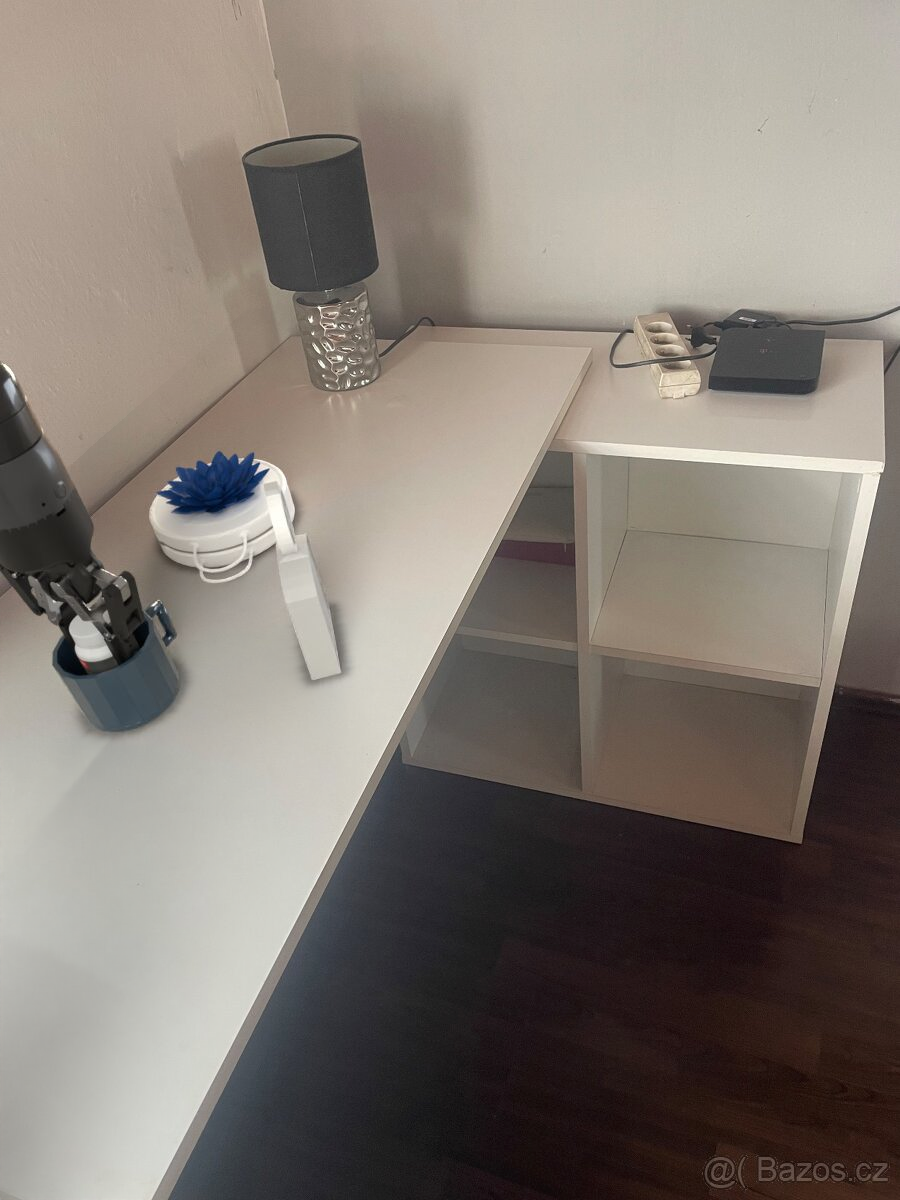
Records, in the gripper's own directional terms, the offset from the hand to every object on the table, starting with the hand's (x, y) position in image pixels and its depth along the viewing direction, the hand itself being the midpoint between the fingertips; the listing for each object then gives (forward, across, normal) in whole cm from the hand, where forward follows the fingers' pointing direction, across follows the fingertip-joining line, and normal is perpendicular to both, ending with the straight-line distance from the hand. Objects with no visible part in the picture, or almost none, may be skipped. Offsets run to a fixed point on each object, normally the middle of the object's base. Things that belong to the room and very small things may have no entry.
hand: (109, 654), depth 77 cm
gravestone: (+6, +14, +12) cm, 19 cm away
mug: (+6, 0, +2) cm, 6 cm away
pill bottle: (+5, 0, 0) cm, 5 cm away
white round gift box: (+6, -6, +23) cm, 25 cm away
